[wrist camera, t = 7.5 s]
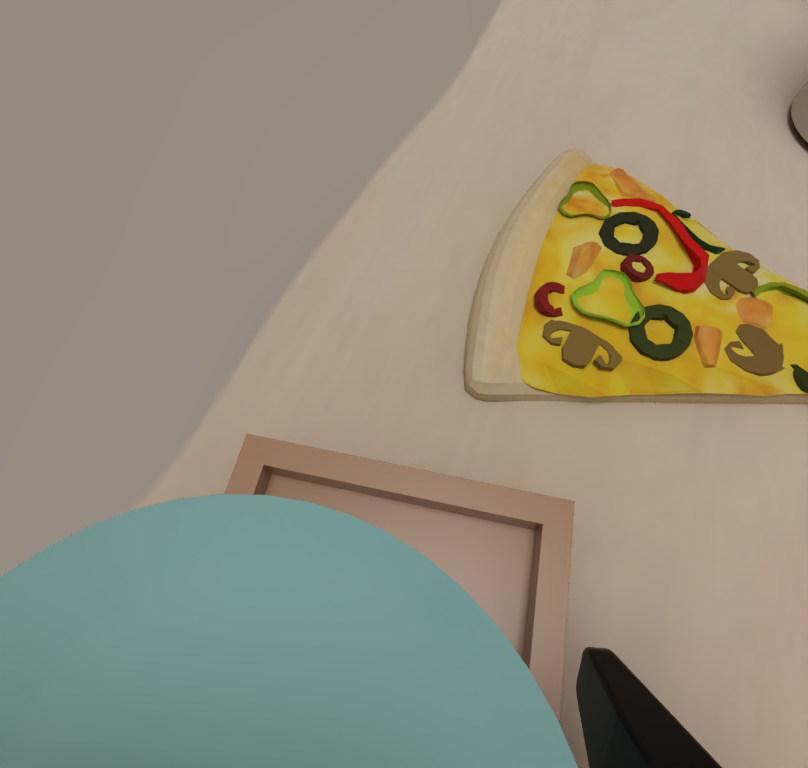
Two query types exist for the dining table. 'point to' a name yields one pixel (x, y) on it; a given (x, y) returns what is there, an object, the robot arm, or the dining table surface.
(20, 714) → the teal rounded cylinder
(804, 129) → the travel mug
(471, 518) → the tray
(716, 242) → the pizza slice
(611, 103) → the dining table surface
